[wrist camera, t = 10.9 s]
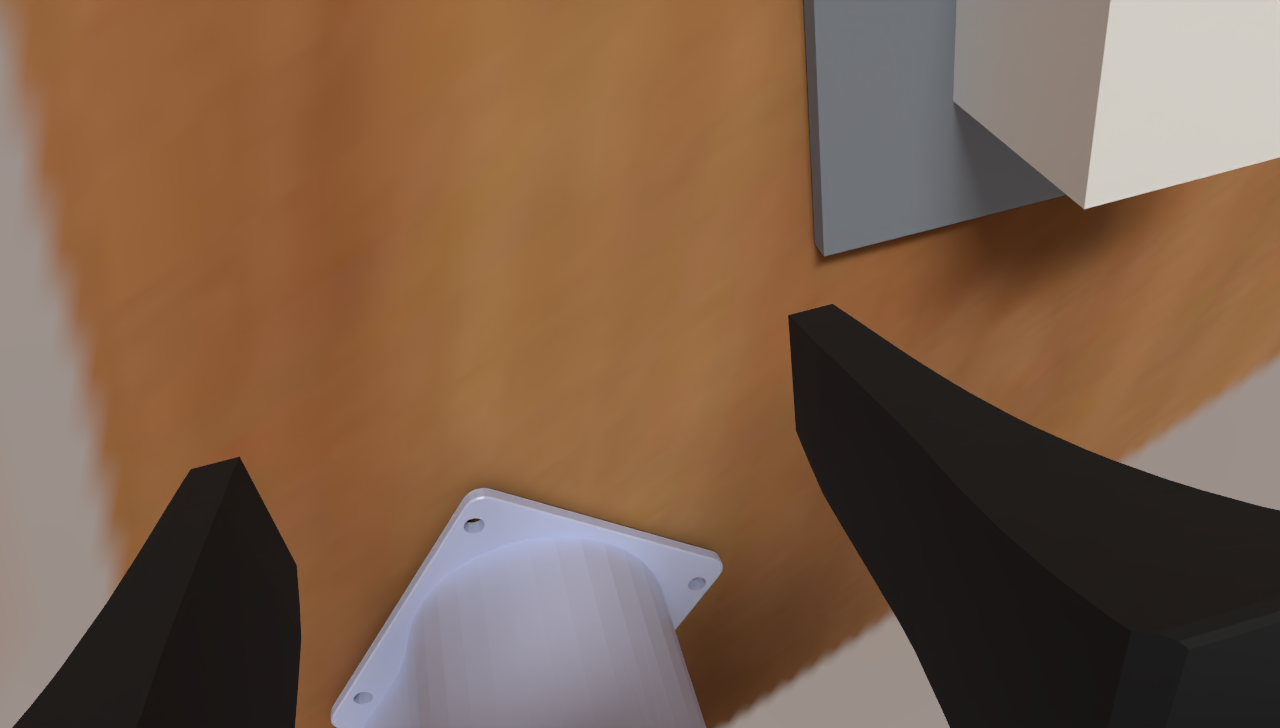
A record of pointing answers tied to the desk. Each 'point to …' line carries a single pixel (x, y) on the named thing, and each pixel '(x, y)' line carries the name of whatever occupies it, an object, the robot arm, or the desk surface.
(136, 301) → the desk surface
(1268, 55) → the cube
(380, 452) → the desk surface
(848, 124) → the mat
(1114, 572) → the robot arm
